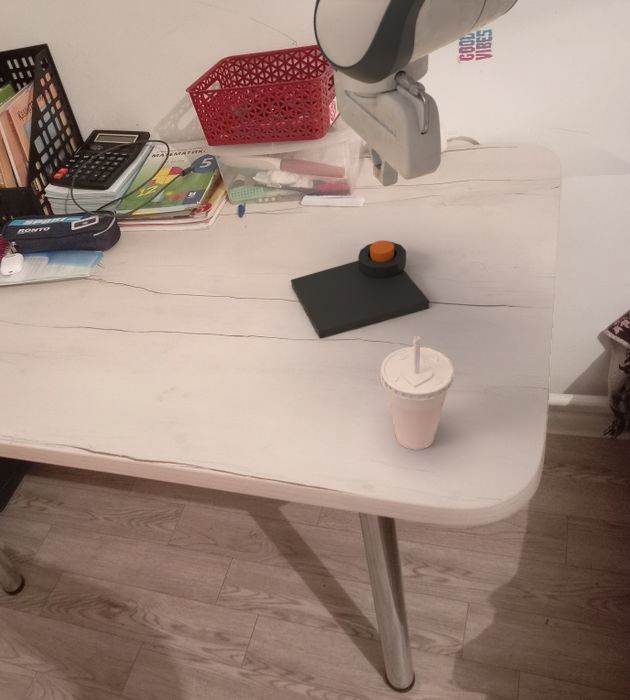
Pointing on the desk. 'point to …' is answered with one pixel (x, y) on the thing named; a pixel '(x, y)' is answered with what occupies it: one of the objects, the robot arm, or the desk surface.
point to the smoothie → (416, 392)
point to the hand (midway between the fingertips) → (385, 180)
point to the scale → (359, 293)
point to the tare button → (382, 251)
